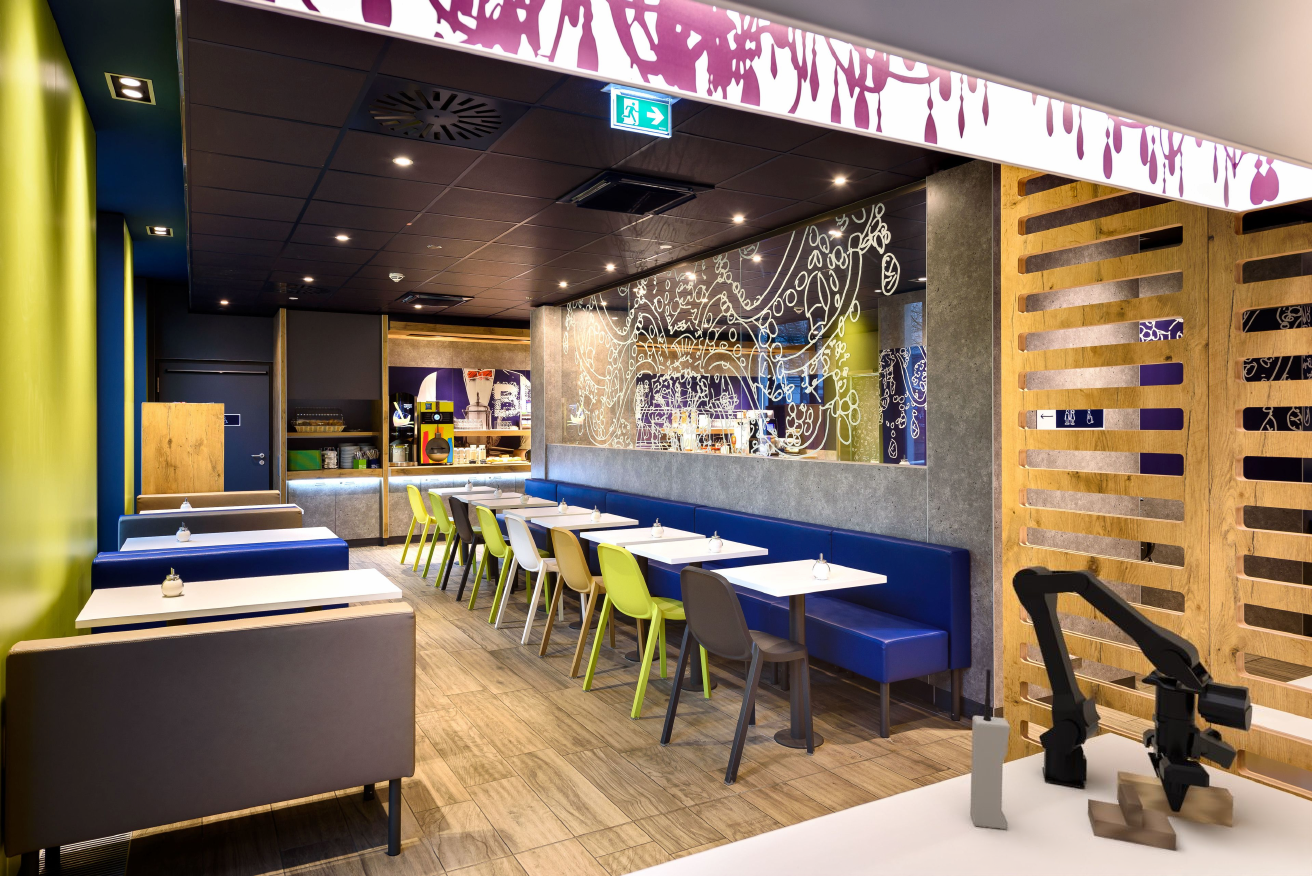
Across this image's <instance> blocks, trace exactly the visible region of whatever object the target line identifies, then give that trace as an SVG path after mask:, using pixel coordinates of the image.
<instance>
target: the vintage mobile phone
mask: <svg viewBox="0 0 1312 876" xmlns="http://www.w3.org/2000/svg"><path fill="white" fill-rule="evenodd" d="M985 677H986V680H985V698H984V714H983V716H982V715H973V716H972V722H971V724H972V725H971V726H972V731H971V732H972V733H971V735H972V736H971V765H970V766H971V768H970V770H971V771H970V773H971V775H970V810H969V811H970V813H969V814H970V817H971V820H972V822H973V824H974V826H975V827H977V826H979V828H986V827H988V829H994V828H1000V829H999V830H1003V829H1006V830H1008V821H1007V819H1006V816H1005V814H1004V812H1003V810H1002V807H1003V765H1004V761H1005V758H1006V757H1007V755H1008V754H1007V753H1008V745H1009V738H1010V730H1011V729H1010V728H1011V725H1010V724H1009V722H1008V721H1007V719H1006V718H1005V717H995V716H994V717H993V716H991V702H992V701H991V669H989V668H987V669H986V676H985Z"/></svg>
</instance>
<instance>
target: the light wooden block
mask: <svg viewBox="0 0 1312 876" xmlns="http://www.w3.org/2000/svg"><path fill="white" fill-rule="evenodd" d="M1119 783H1121V784H1127V785H1133V786H1134V788H1135V790H1136V792H1137V795H1138V797H1139V799H1140V801H1141V803H1142V805H1143V809H1148V810H1154V811H1160V812H1165V814H1166V816H1167V817H1170V818H1176V819H1182V820H1187V821H1193V822H1200V823H1204V824H1211V825H1215V826H1216V825H1217V826H1222V827H1226V828H1234V827H1233V826H1234V825H1233V824H1234V823H1233V821H1234V820H1233V817H1234V812H1233V811H1234V797H1233V795H1232V793H1231V791H1229V789H1228V788H1226V787H1218V786H1214V785H1213V786H1212V785H1209V787H1207V788H1205V787H1199V786H1192V785H1191V786H1189V788H1188V791H1187V793H1186V796H1185V798H1184V801H1183V804H1182V807H1181V809H1180V812H1173V811H1172V810H1171V808H1170V805H1169V802H1168V800H1167V797H1166V794H1165V791H1164V789H1163V786H1162V783H1161V780H1160V778H1157V776H1152V775H1151V776H1150V775H1144V774H1138V773H1133V772H1132V773H1130V772H1127V771H1119V770H1117V784H1116V785H1117V787H1116V789H1117V791H1116V792H1117V793H1116V801H1117V800H1118V801H1117V804H1119Z"/></svg>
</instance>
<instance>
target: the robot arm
mask: <svg viewBox="0 0 1312 876" xmlns="http://www.w3.org/2000/svg"><path fill="white" fill-rule="evenodd" d="M1011 581H1012V582H1011V583H1012V584H1011V585H1012V588H1013V590H1014V592H1015V595H1016V596H1017V599H1018V601H1019V602H1020V603H1019V604H1021V606H1022V607H1023V609H1024V610H1025V611H1026V612H1027V614H1028V616H1029V617H1030V619H1031V621H1032V622H1031V623H1032V626H1033V630H1034V633H1035V637H1036V640H1037V644H1038V646H1039V650H1040V653H1041V657H1042V660H1043V663H1044V664H1043V665H1044V668H1045V671H1046V674H1047V678H1048V682H1049V685H1050V689H1051V691H1052V692H1051V693H1052V698H1051V699H1052V700H1051V709H1050V710H1051V720H1052V721H1051V722H1052V727H1051V728H1049V729H1047V730H1046V731H1045V732H1043V733H1041V734H1040V735H1039V737H1038V738H1039V741H1040V744H1041V747H1042V749H1043V766H1042V767H1041V768H1042V770H1041V771H1042V774H1043V780H1044V782H1046V783H1050V784H1057V785H1063V786H1068V787H1073V788H1078V789H1079V788H1081V789H1085V787H1086V786H1085V783H1086V782H1087V773H1088V759H1087V756H1086V755H1085V754H1084V753H1085V752H1084V749H1083V746H1082V745H1085V744H1086V742H1087V741H1088V739H1090V738H1091V737H1093V736H1094V735H1096V733H1097V732H1098V730H1099V721H1100V720H1102V718H1101V716H1100V714H1099V713H1098V710H1097V708H1096V701H1095V700H1096V699H1095V697H1093V696H1090V697H1086V696H1085V695H1084V693H1083V692H1082V691H1081V689H1080V688H1079V685H1078V682H1077V681H1078V680H1077V678H1076V674H1075V671H1074V667H1073V664H1072V661H1071V657H1070V654H1069V650H1068V647H1067V644H1066V641H1065V637H1064V636H1065V635H1064V633H1063V630H1062V626H1061V624H1060V621H1059V616H1058V612H1057V611H1058V610H1057V609H1058V597H1059V594H1067V593H1069V594H1070V593H1075V594H1077V595H1079V596H1080V598H1082V599H1083V600H1085V601H1086V602H1087V603H1089V604H1090V606H1092V607H1094V608H1095V610H1097V611H1098V612H1099V613H1100V614H1102V615H1103V616H1104V617H1106V619H1108V620H1109V621H1110V622H1111V623H1112V624H1114V625H1115V626H1116V627H1118V628H1119V629H1120V630H1121V631H1122V632H1124V633H1125V634H1126V635H1128V636H1129V638H1131V639H1132V641H1134V642H1135V644H1136V645H1137V646H1138V648H1139V649H1140V651H1141V653H1142V654H1143V656H1144V657H1145V658H1146V659H1147V660H1148V661H1149V663H1151V664H1152V665H1153V667H1154V669H1153V670H1152V671H1151V672H1149V674H1148V675H1146V676H1145V677H1143V678H1142V679H1141V683H1142V684H1145V685H1146V684H1147V685H1150V686H1154V687H1155V694H1154V696H1155V697H1154V698H1155V699H1154V700H1155V701H1154V713H1152V714H1151V717H1152V718H1151V720H1152V721H1153V723H1154V728H1148V729H1146V730H1144V731H1143V732H1142V744H1143V745H1144V748H1146V749H1150V748H1151V746H1152V748H1153V749H1152V751H1151V752H1149V751H1148V752H1147V755H1148V758H1149V761H1150V762H1151V765H1152V767H1153V771H1154V773H1155V775H1156V776H1155V777H1157V778H1160V780H1161V783H1162V786H1163V789H1164V791H1165V794H1166V797H1167V800H1168V802H1169V805H1170V808H1171V810H1172V811H1173V812H1180V809H1181V807H1182V804H1183V801H1184V798H1185V796H1186V793H1187V791H1188V788H1189V786H1191V785H1192V786H1199V787H1205V788H1207V787H1209V786H1210V779H1211V778H1210V774H1209V772H1208V771H1207V769H1206V768H1205V767H1204V766H1203V765H1202V764H1201V763H1200V762H1199V761H1200V760H1201V758H1202V757H1203V758H1205V759H1207V760H1209V761H1211V762H1213V763H1215V764H1217V765H1219V766H1220V767H1221V768H1223V769H1226V770H1231V767H1232V765H1233V763H1234V761H1235V759H1236V756H1237V754H1238V751H1237V750H1236V749H1235V748H1234V747H1233V746H1232V745H1231V744H1229V743H1228V742H1227V741H1226V740H1223V737H1222V733H1221V732H1220V731H1219V730H1217V729H1215V728H1212V727H1208V728H1205V729H1204V730H1201V729H1200V728H1199V727H1198V725H1196V724H1197V723H1196V709H1197V713H1198V715H1200V718H1201V719H1204V720H1205V721H1204V722H1206V723H1208V724H1212V725H1213V724H1214V725H1217V726H1221V727H1227V728H1230V729H1236V730H1240V731H1244V732H1249V731H1250V729H1251V724H1252V719H1253V705H1252V703H1251V697H1250V694H1249V693H1250V689H1249V687H1246V686H1243V685H1231V684H1227V683H1220V682H1214V678H1213V677H1212V675H1211V674H1210V672H1209V671H1208V670H1207V668H1206V667H1205V666H1204V664H1203V663H1202V662H1201V661H1200V654H1199V650H1198V648H1197V647H1196V646H1195V645H1194V643H1192V642H1191V641H1189V640H1188V639H1186V638H1184V637H1183V636H1180V635H1179V634H1177V633H1175V632H1174V631H1172V630H1169V629H1167V628H1165V627H1162V626H1161V625H1159V624H1157V623H1155V622H1153V621H1152V620H1150V619H1149V618H1147V617H1146V616H1145V615H1144V613H1143V614H1142V612H1140V611H1139V610H1137V609H1136V608H1135V607H1134V606H1133V605H1131V604H1130V603H1129V602H1127V600H1125V599H1124V598H1123V597H1121V596H1120V595H1119V594H1117V593H1116V592H1115V591H1114V590H1113V589H1111V588H1110V587H1109V586H1108V585H1106V584H1105V583H1104V582H1103V581H1101V580H1100V579H1099V578H1097V577H1096V575H1095V574H1094V573H1093V572H1092V571H1090V570H1088V569H1079V570H1050V569H1049V568H1047V567H1046V566H1041V565H1034V566H1029V567H1026V568H1022V569H1019V570H1018V571H1016V573H1015V574H1014V576H1013V577H1012V580H1011ZM1196 695H1197V702H1196ZM1196 703H1197V704H1196ZM1196 705H1197V708H1196ZM1189 758H1191V759H1189Z"/></svg>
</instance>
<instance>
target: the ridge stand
mask: <svg viewBox="0 0 1312 876" xmlns="http://www.w3.org/2000/svg"><path fill="white" fill-rule="evenodd" d="M1087 815H1088V820H1089V822H1090V825H1091V828H1092V832H1093V836H1095V837H1101V838H1108V839H1111V840H1112V839H1113V840H1117V841H1122V842H1123V841H1124V842H1128V843H1134V844H1138V845H1144V846H1150V847H1155V848H1160V849H1165V850H1171V851H1176V849H1177V846H1176V845H1177V833H1176V832H1175V829H1174V828H1173V825H1172V823H1171V822H1170V820H1169V818H1168V816H1166V814H1165V812H1160V811H1154V810H1148V809H1143V805H1142V803H1141V801H1140V799H1139V797H1138V795H1137V792H1136V790H1135V788H1134V786H1133V785H1127V784H1121V783H1119V803H1112V802H1107V801H1102V800H1097V799H1096V800H1095V799H1090V798H1088V799H1087Z"/></svg>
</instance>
